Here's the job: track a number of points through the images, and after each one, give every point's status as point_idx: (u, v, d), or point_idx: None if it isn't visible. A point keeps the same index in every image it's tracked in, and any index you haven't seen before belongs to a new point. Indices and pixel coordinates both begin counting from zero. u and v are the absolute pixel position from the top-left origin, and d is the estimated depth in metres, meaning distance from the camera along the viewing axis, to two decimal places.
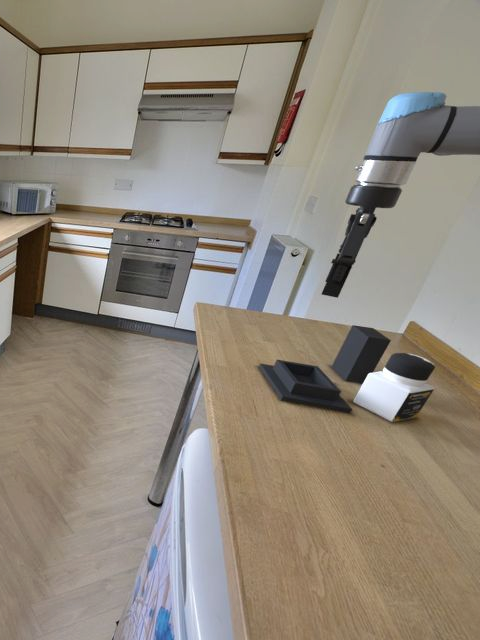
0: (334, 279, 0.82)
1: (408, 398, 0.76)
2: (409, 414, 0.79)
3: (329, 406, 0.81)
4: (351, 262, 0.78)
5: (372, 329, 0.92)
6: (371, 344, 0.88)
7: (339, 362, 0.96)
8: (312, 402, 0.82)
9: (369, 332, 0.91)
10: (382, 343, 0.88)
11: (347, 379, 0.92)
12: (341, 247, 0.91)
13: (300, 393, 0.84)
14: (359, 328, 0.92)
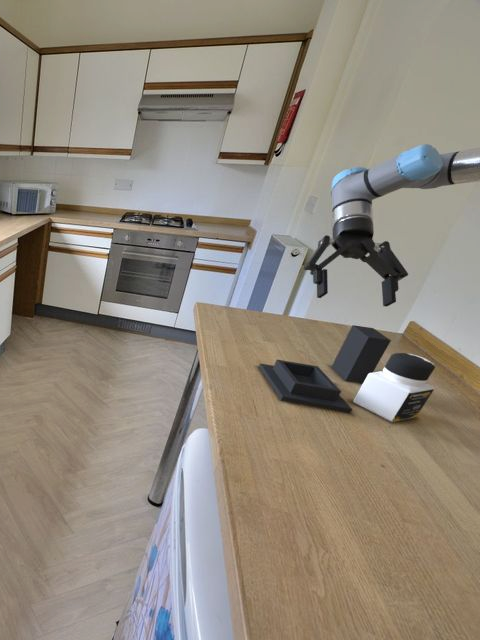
0: (314, 282, 1.01)
1: (408, 398, 0.76)
2: (409, 414, 0.79)
3: (329, 406, 0.81)
4: (308, 264, 1.01)
5: (372, 329, 0.92)
6: (371, 344, 0.88)
7: (339, 362, 0.96)
8: (312, 402, 0.82)
9: (369, 332, 0.91)
10: (382, 343, 0.88)
11: (347, 379, 0.92)
12: (381, 276, 0.99)
13: (300, 393, 0.84)
14: (359, 328, 0.92)
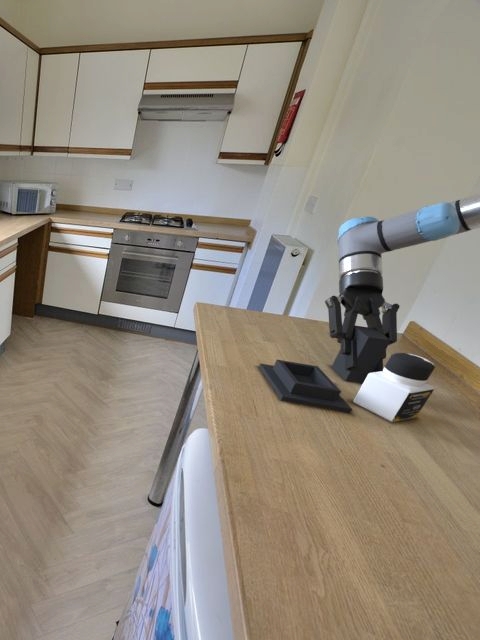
0: (341, 352, 0.93)
1: (408, 398, 0.76)
2: (409, 414, 0.79)
3: (329, 406, 0.81)
4: (336, 333, 0.93)
5: (372, 329, 0.92)
6: (371, 344, 0.88)
7: (339, 362, 0.96)
8: (312, 402, 0.82)
9: (369, 332, 0.91)
10: (382, 343, 0.88)
11: (347, 379, 0.92)
12: None
13: (300, 393, 0.84)
14: (359, 328, 0.92)
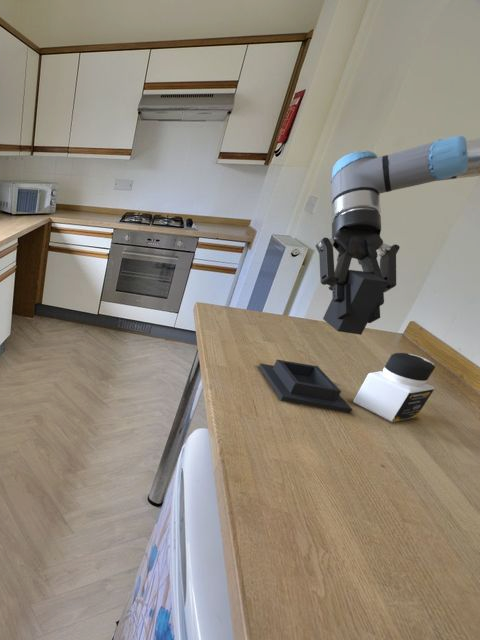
0: (333, 299, 0.82)
1: (408, 398, 0.76)
2: (409, 414, 0.79)
3: (329, 406, 0.81)
4: (327, 278, 0.83)
5: (368, 273, 0.81)
6: (366, 287, 0.78)
7: (331, 312, 0.85)
8: (312, 402, 0.82)
9: (365, 274, 0.80)
10: (379, 285, 0.77)
11: (339, 329, 0.82)
12: None
13: (300, 393, 0.84)
14: (353, 272, 0.81)
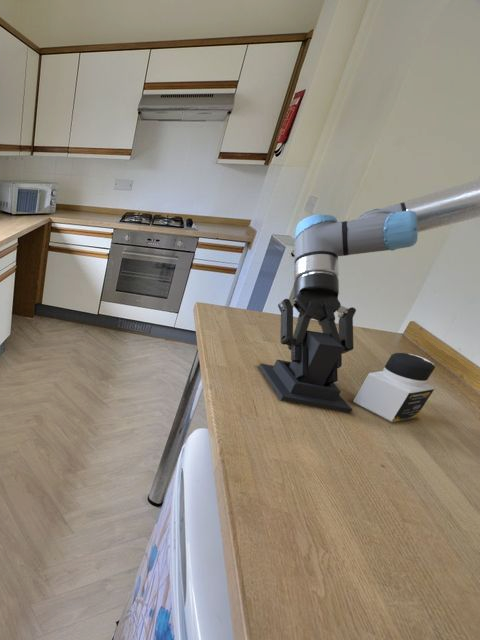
0: (292, 359, 0.86)
1: (408, 398, 0.76)
2: (409, 414, 0.79)
3: (329, 406, 0.81)
4: (286, 339, 0.86)
5: (326, 335, 0.85)
6: (322, 351, 0.81)
7: (292, 370, 0.89)
8: (312, 402, 0.82)
9: (322, 337, 0.84)
10: (334, 350, 0.81)
11: None
12: None
13: (300, 393, 0.84)
14: (312, 333, 0.85)
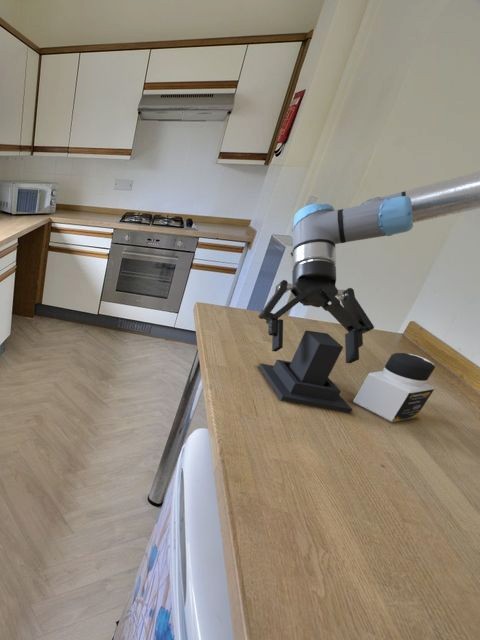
0: (269, 333, 0.90)
1: (408, 398, 0.76)
2: (409, 414, 0.79)
3: (329, 406, 0.81)
4: (263, 313, 0.90)
5: (326, 335, 0.85)
6: (322, 351, 0.81)
7: (292, 370, 0.89)
8: (312, 402, 0.82)
9: (322, 337, 0.84)
10: (334, 350, 0.81)
11: None
12: (344, 327, 0.88)
13: (300, 393, 0.84)
14: (312, 333, 0.85)
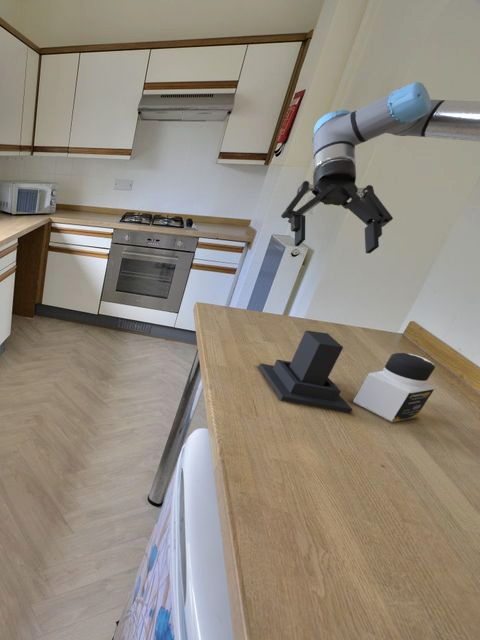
0: (291, 229, 0.94)
1: (408, 398, 0.76)
2: (409, 414, 0.79)
3: (329, 406, 0.81)
4: (285, 210, 0.95)
5: (326, 335, 0.85)
6: (322, 351, 0.81)
7: (292, 370, 0.89)
8: (312, 402, 0.82)
9: (322, 337, 0.84)
10: (334, 350, 0.81)
11: None
12: (364, 222, 0.92)
13: (300, 393, 0.84)
14: (312, 333, 0.85)
